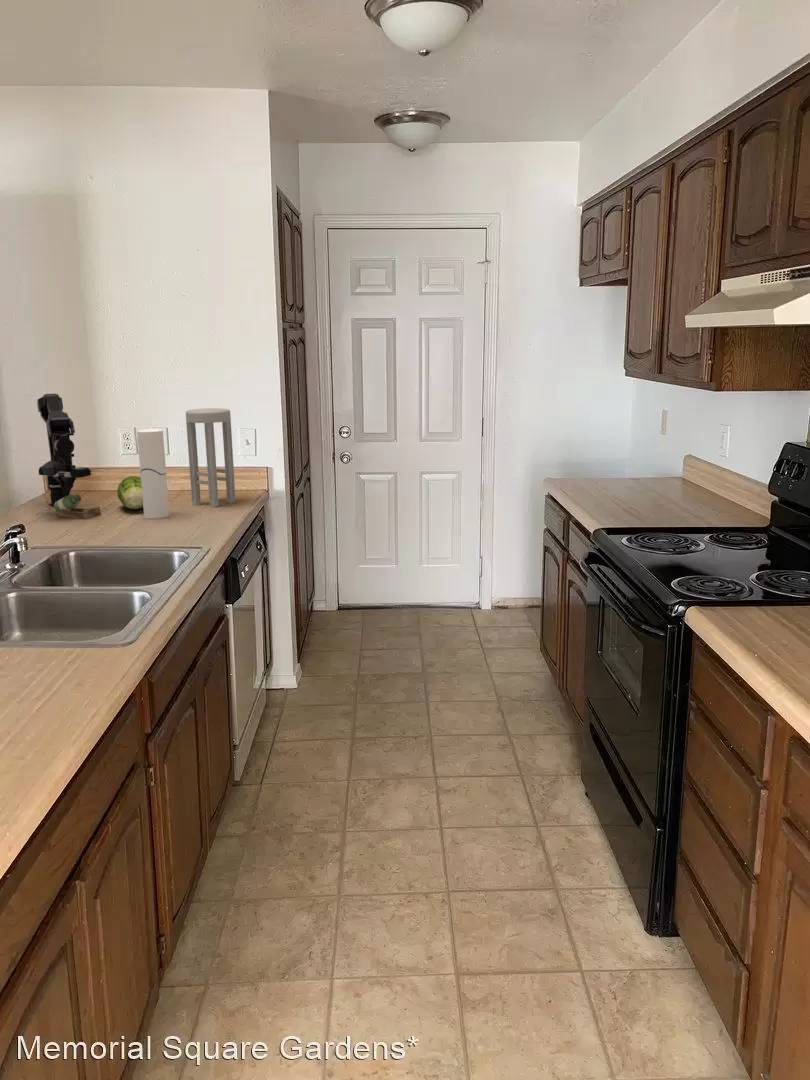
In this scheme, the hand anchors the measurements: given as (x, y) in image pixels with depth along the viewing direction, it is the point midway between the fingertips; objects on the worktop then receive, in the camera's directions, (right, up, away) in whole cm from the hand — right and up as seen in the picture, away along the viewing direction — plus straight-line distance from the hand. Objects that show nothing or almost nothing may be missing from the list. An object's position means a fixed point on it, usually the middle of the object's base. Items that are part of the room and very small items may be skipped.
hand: (67, 495), depth 296 cm
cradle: (+4, -7, 0) cm, 8 cm away
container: (+32, -8, -1) cm, 33 cm away
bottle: (-4, -4, +3) cm, 6 cm away
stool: (+48, -2, +20) cm, 51 cm away
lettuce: (+21, -5, +10) cm, 24 cm away
